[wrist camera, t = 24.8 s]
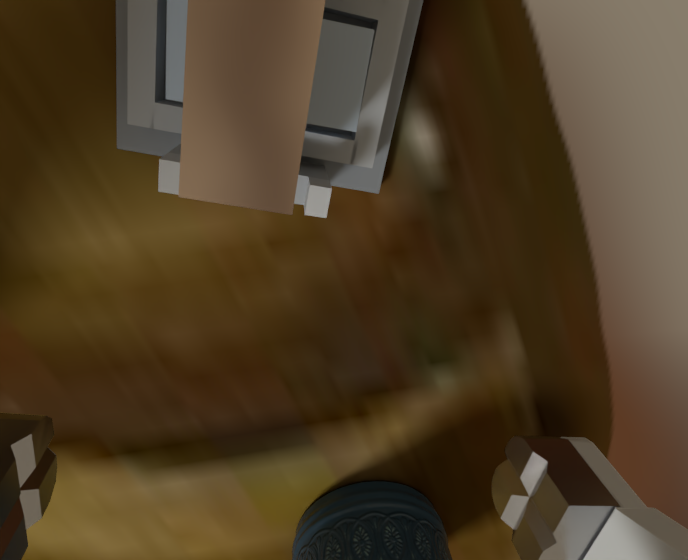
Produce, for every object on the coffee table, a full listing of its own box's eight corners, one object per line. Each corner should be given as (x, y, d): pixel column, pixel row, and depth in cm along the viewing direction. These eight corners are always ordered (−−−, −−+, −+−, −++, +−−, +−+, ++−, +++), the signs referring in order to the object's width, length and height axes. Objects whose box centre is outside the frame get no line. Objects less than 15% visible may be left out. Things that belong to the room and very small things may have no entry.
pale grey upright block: (188, 92, 23) (165, 98, 19) (191, 0, 21) (167, -15, 17) (345, 120, 24) (356, 132, 20) (359, 35, 22) (374, 29, 18)
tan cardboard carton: (201, 169, 20) (178, 196, 16) (220, -114, 16) (196, -174, 12) (292, 185, 21) (291, 214, 17) (332, -83, 17) (345, -130, 13)
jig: (123, 153, 25) (75, 178, 19) (122, -122, 20) (59, -190, 14) (374, 195, 27) (394, 229, 22) (427, -39, 22) (471, -72, 17)
